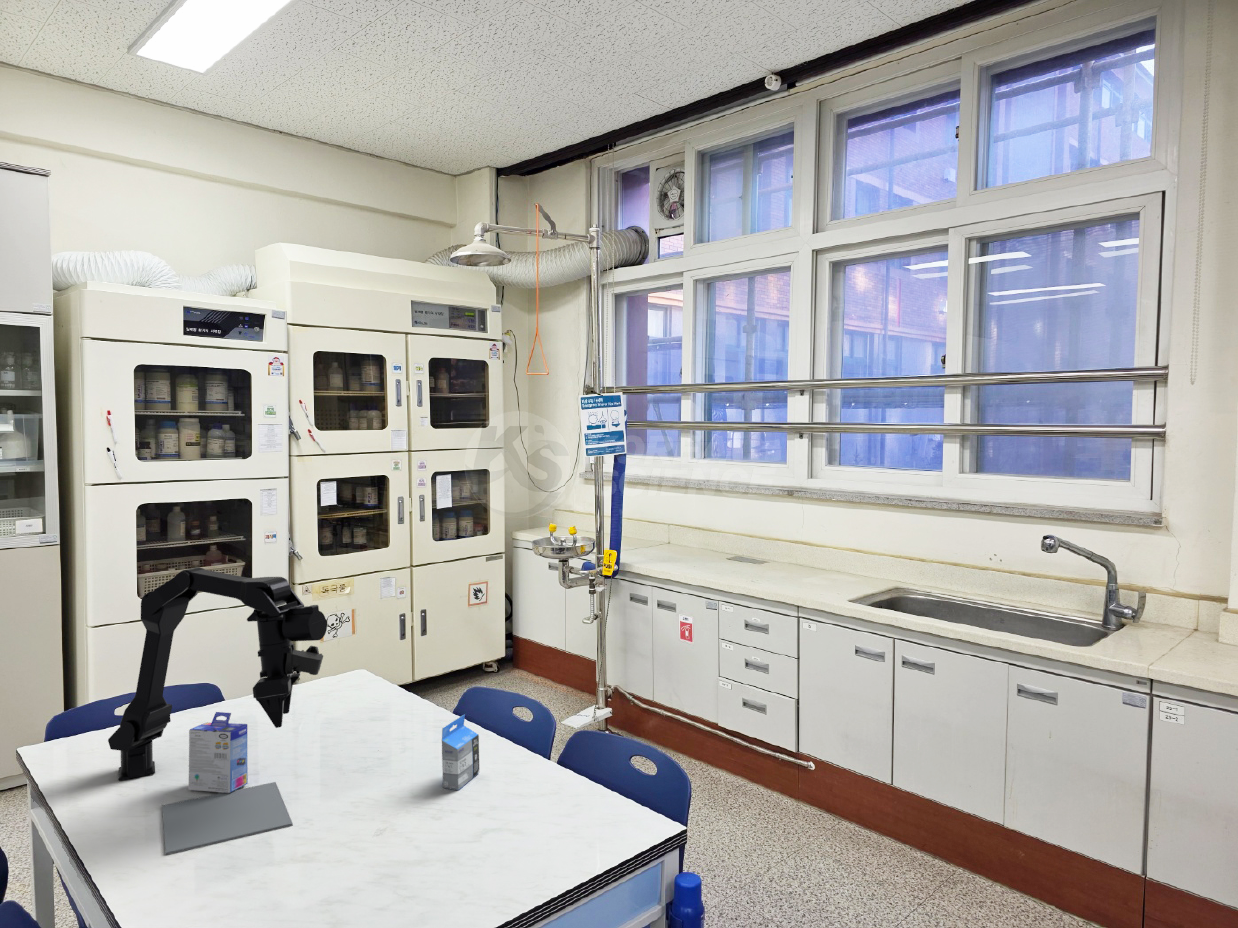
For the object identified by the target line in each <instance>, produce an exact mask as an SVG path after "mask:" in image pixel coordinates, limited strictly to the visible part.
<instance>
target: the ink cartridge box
mask: <svg viewBox="0 0 1238 928" xmlns="http://www.w3.org/2000/svg"><path fill="white" fill-rule="evenodd" d="M231 715H232V712H223V711H221V712H220V711H215V713H214V716H213V718H212V721H211V722H204V723H201V724H199V725H197V726H194V727H192V728H190V729H189V730H188V734H189V735H188V736H189V737H188V791H198V792H199V791H200V792H211V793H212V792H213V793H231V792H233V791H234V790H238V789H241V788H242V787H245V786H247V785H248V783H249V782H248V776H249V775H248V773H249V772H248V769H249V768H248V724H247V723H235V722H234V723H229V722H230V720H231V719H230V718H231ZM219 717H225V718H226V719H225V720H223V719H218V718H219Z"/></svg>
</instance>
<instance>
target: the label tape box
mask: <svg viewBox="0 0 1238 928" xmlns="http://www.w3.org/2000/svg"><path fill="white" fill-rule="evenodd" d="M465 716H466V713H465V714H463V715H461V716H459V717H457V718H456V719H455V720H453V721H451V722H449V723H448V724H447V725H445V726H443V727H442V730H441V757H442V758H441V763H442V765H441V767H442V788H445V789H448V788H451V789H450V790H455V791H456V790H457V791H459V790H461V789H462V788H463V787H464V786H465V785H466V784H467V783H469V782H470V781H471V780H472V779H474V778H475V777H476V776H477V775H478V774H479V773H480V736H479V734H478V733H477V732H475V731H473V730H472V729H470V728H469V727H467V726H465ZM455 726H456V727H455ZM453 727H454V728H453ZM452 728H453V729H452ZM451 729H452V730H451Z"/></svg>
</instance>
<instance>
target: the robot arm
mask: <svg viewBox="0 0 1238 928" xmlns="http://www.w3.org/2000/svg"><path fill="white" fill-rule="evenodd" d="M199 592H201V593H206V594H211V595H217V596H222V597H227V598H232V599H236V600H238V601H240V602H241V603H242V604H243V605H245V606H246V607H249V608H251V609H253V611H252V613H250V615H249V616H248V617H247V618H246V621H247V622H248V623H249V622H256V625H257V635H258V647H259V650H258V651H257V657H258V658H260V666H261V670H260V672H259V679H258V681H257V682H256V683H255V684H254V685H253V687H252V694H253V695H252V696H253V699H255V700H256V702H258V703H259V705H260V707H261V708H262V709H263V711H264V712H265V714H266V716H268V718H269V720H270V721H271V723H272V724H273V726H274V727H275V728H276V729H277V728H281V727H282V726H283V718H284V715H286V714H289V713H290V708H291V707H290V706H291V700H292V692H293V686H294V683H296V682H297V680H298V679H299V678H300V676H301V672H302V673H307V674H310V676H311V675H312V676H317V675H319V672H320V671H321V670H320V669H321V667H322V662H323V659H324V655H323V653H320V652H319V647H318V646H315V645H310V646H309V647H308V648H307V649H306V650H304V649H302V650H296V648H295V644H294V643H293V642H305V641H306V642H312V641H321V640H322V639H323V638H324V637H325V636H326V632H327V629H328V619H327V618H326V616H325V614H324V613H323V612H322V611H320V607H319V604H311V605H309V606H308V605H307V606H305V604H304V603H303V602H302V600H301V598H300V597H299V596H298V595H297V594H296V592H295V591H294V590H293V589H292V587H291V585H290V583H289V581H288V579H287V578H284V577H283V576H264V577H245V576H240V575H235V574H231V573H230V574H229V573H225V572H224V573H223V572H220V571H214V570H209V569H205V568H203V567H200V566H199V567H192V568H186V569H183V570H181V571H179V572H178V573H177V574H176V575H175V576H173V577H172V578H171V579H170V580H168V581H166V582H164V583H163V584H161V585H160V586H158V587H156V588H155V589H154V590H152V591H148V592H147V593H146V594H144V595H143V596H142V597H141V601H140V620H141V623H142V624H143V626H144V628H145V629H146V632H145V638H144V643H143V649H142V655H141V661H140V668H139V673H138V679H137V683H136V691H135V695H134V697H133V699H132V700H131V701H130V702H129V704H128V705H127V707H126V708H125V709H124V711H123V715H122V717H121V720H120V724H119V726H118V728H117V729H116V730H115V731H114V732H113V734H111V736H110V737H109V738H108V740H107V742H108V744H109V748H110V750H113V751H120V767H118V775H117V776H118V777H117V778H118V779H117V780H118V781H122V780H128V779H129V780H130V779H133V778H139V777H144V776H150V775H154V774H156V765H155V760H153V757H154V756H153V741H154V740H156V739H159V738H162V737H163V733H164V730H165V729H166V728H167V726H168V723H171V713H172V710H173V705H172V704H171V703H167V701H166V699H165V698H164V689H165V682H166V679H167V674H168V673H167V672H168V666H169V660H170V656H171V650H172V643H173V638H174V633H175V630H176V629H177V627H178V626H179V625H180V623H182V621H183V620H184V618H185V616H186V612H187V610H188V607H189V604H190V602H191V601H192V600H193V599H194V598H195V597H196V596H197V595H198V594H199ZM294 672H296V673H294Z"/></svg>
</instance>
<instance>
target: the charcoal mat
mask: <svg viewBox="0 0 1238 928" xmlns="http://www.w3.org/2000/svg"><path fill="white" fill-rule="evenodd" d="M287 808H288V807H286V804H285V801H284V798H283V797H282V795H281V791H280V789H279V787H278V785H277V782H276V781H273V782H267V783H263V784H258V785H254V786H250V787H249V786H248V787H244V788H238V789H236V790H234V791H233V792H231V793H223V792H218V793H214V794H210V795H205V796H204V795H203V796H201V797H200V796H199V797H195V798H191V799H184V800H180V801H176V802H171V803H166V804H162V805H161V811H162V821H163V822H162V823H163V825H162V826H163V834H164V835H163V836H164V848H165V855H166V856H167V855H172V854H177V853H181V852H185V851H188V850H193V849H197V848H202V847H206V846H211V845H214V844H219V843H223V842H227V841H231V840H236V839H240V838H245V837H248V836H253V835H257V834H261V833H265V832H270V831H274V830H275V831H276V830H278V829H283V828H287V827H292V826H293V821H292V819H291V817H290V814H289V811H288V809H287Z"/></svg>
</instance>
